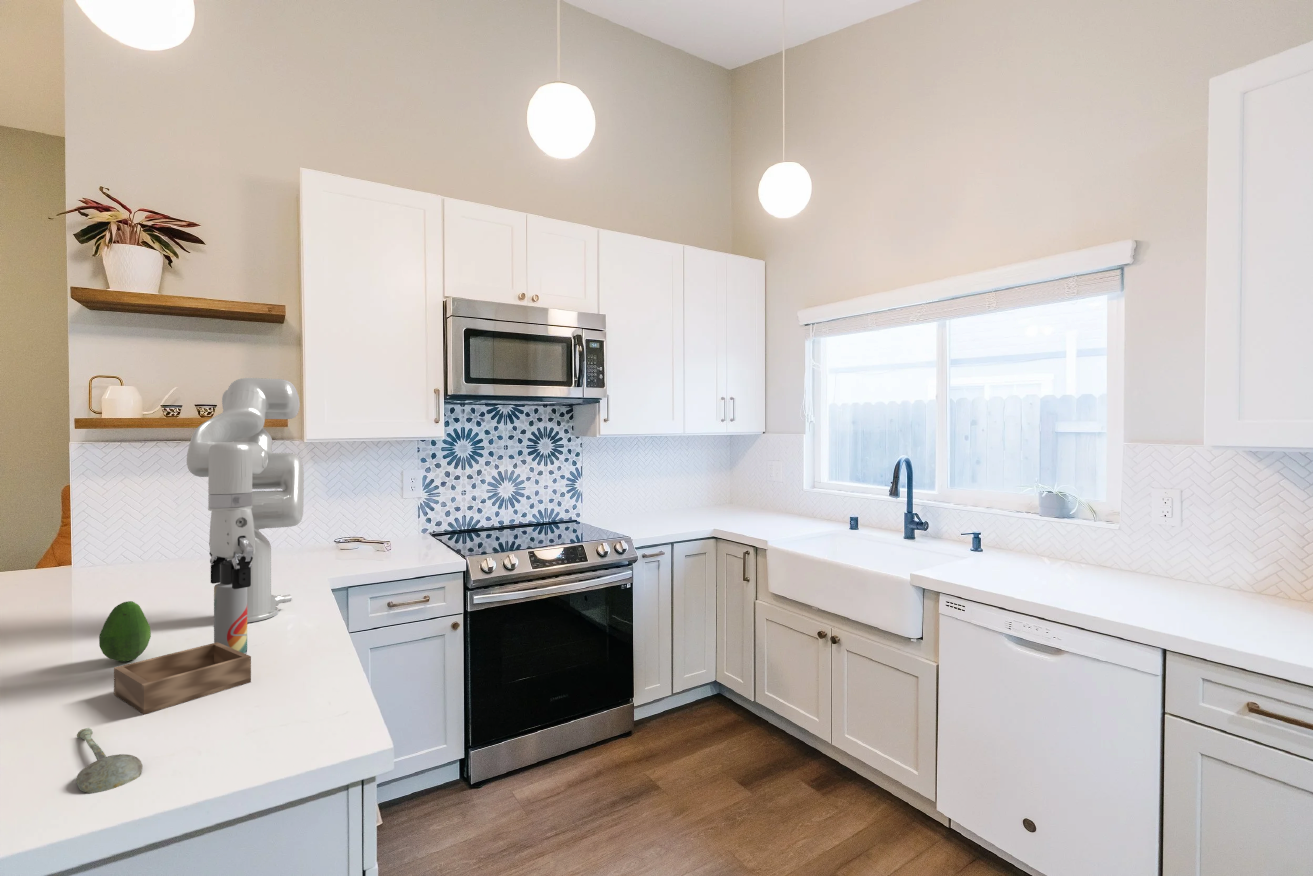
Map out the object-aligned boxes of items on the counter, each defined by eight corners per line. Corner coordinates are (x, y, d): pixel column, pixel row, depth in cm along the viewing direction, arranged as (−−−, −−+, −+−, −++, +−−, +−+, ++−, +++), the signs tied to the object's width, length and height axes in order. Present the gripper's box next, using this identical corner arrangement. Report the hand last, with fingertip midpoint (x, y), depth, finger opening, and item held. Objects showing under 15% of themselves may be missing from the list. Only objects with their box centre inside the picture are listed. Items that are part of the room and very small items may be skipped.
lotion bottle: (253, 654, 129) (253, 558, 129) (224, 663, 124) (224, 564, 124) (236, 649, 131) (236, 556, 131) (207, 658, 126) (207, 561, 126)
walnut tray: (217, 666, 122) (217, 642, 122) (250, 682, 115) (250, 656, 114) (113, 694, 109) (113, 667, 109) (144, 714, 101) (143, 685, 101)
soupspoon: (80, 809, 78) (146, 788, 83) (81, 782, 78) (148, 763, 83) (55, 746, 92) (113, 731, 97) (56, 723, 92) (114, 710, 97)
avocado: (143, 651, 131) (143, 594, 131) (156, 659, 126) (156, 600, 126) (93, 662, 124) (93, 603, 124) (105, 671, 120) (105, 609, 119)
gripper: (270, 502, 126) (270, 586, 126) (231, 499, 135) (231, 577, 135) (229, 505, 119) (229, 594, 119) (191, 501, 129) (191, 583, 129)
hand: (230, 585), depth 127 cm, fingers open, 9 cm apart
